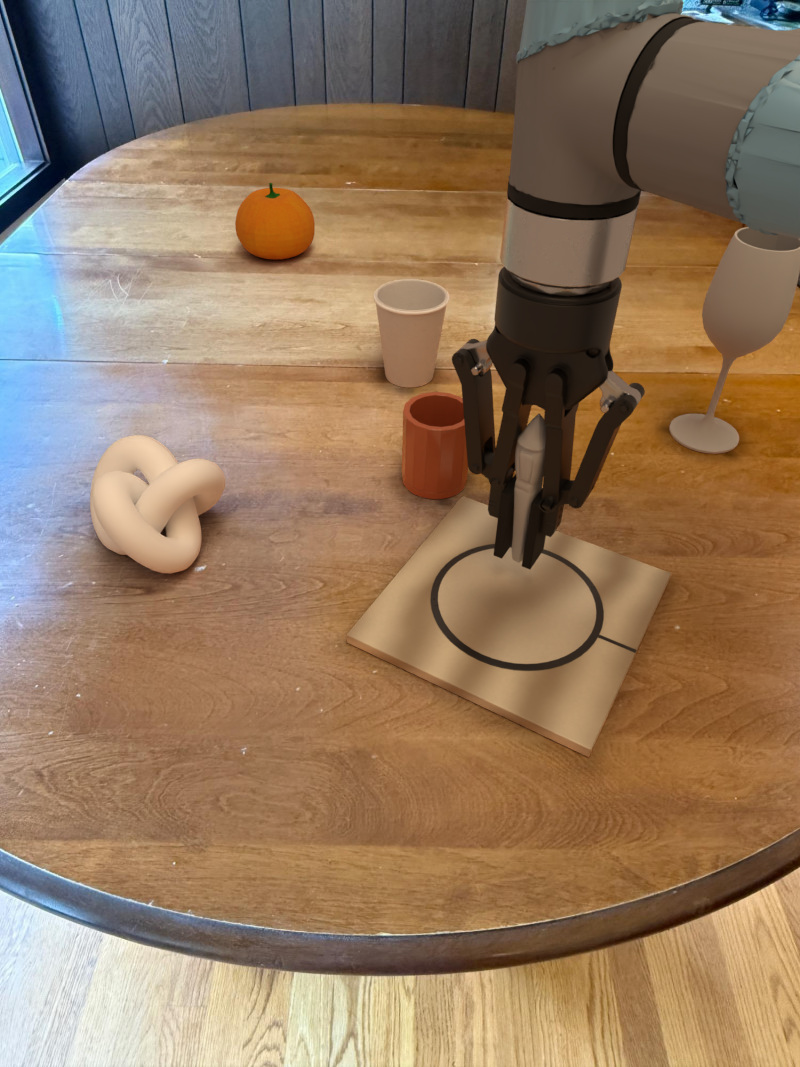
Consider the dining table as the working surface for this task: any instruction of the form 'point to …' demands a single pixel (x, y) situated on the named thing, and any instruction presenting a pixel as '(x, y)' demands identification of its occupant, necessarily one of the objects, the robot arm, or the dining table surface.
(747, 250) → the wineglass
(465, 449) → the pen pot
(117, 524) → the beige decorative knot
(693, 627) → the dining table surface
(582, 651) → the drawing board
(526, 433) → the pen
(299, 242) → the fruit
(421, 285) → the dixie cup
